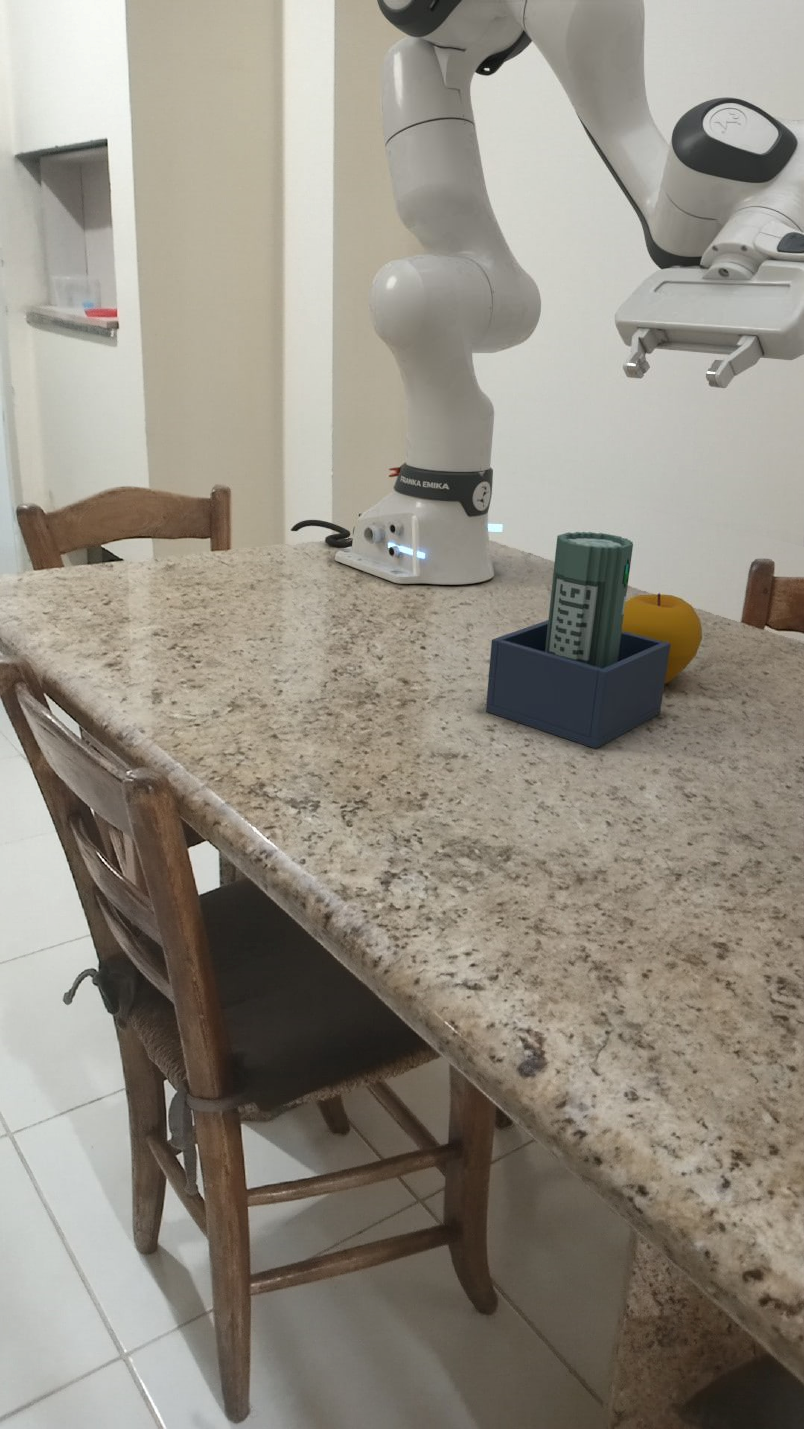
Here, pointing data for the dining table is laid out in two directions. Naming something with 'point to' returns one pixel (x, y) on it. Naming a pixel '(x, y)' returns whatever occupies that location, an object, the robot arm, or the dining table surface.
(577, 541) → the can
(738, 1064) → the dining table surface
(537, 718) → the dark blue bin
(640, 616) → the apple
